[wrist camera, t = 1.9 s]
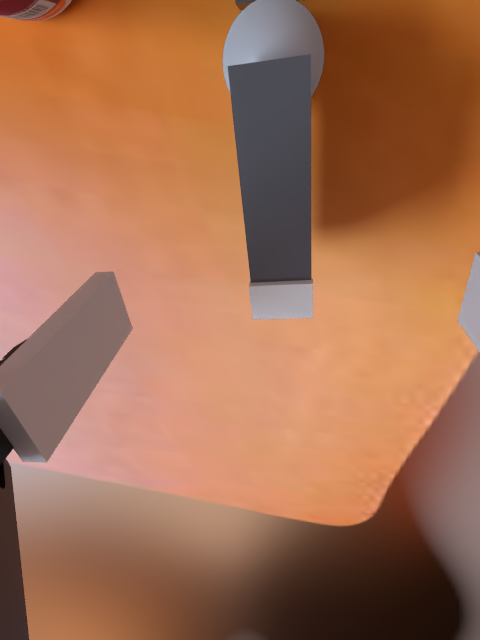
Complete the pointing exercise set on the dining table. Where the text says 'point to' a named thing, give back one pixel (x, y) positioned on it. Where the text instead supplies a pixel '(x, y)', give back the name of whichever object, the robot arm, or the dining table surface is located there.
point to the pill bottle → (32, 9)
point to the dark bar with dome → (275, 148)
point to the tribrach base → (244, 3)
